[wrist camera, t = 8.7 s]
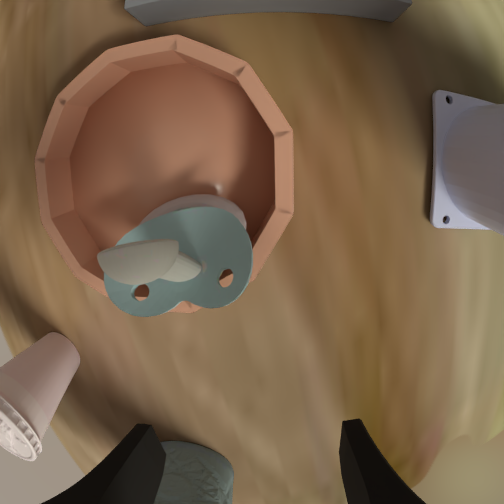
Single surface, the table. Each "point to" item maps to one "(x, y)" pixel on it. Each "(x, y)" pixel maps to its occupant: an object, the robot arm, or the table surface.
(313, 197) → the table surface
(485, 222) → the robot arm
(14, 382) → the smoothie
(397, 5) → the gray square frame
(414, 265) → the table surface
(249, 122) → the bowl
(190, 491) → the grey green pot
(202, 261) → the pacifier
